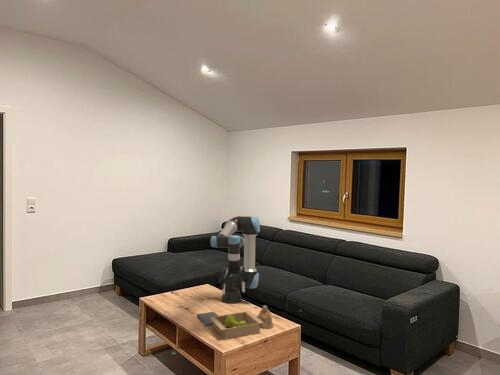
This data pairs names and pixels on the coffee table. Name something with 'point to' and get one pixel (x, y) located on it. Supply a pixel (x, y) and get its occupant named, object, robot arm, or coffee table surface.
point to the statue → (265, 318)
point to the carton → (241, 330)
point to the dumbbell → (233, 322)
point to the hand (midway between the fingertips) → (233, 292)
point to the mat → (206, 318)
